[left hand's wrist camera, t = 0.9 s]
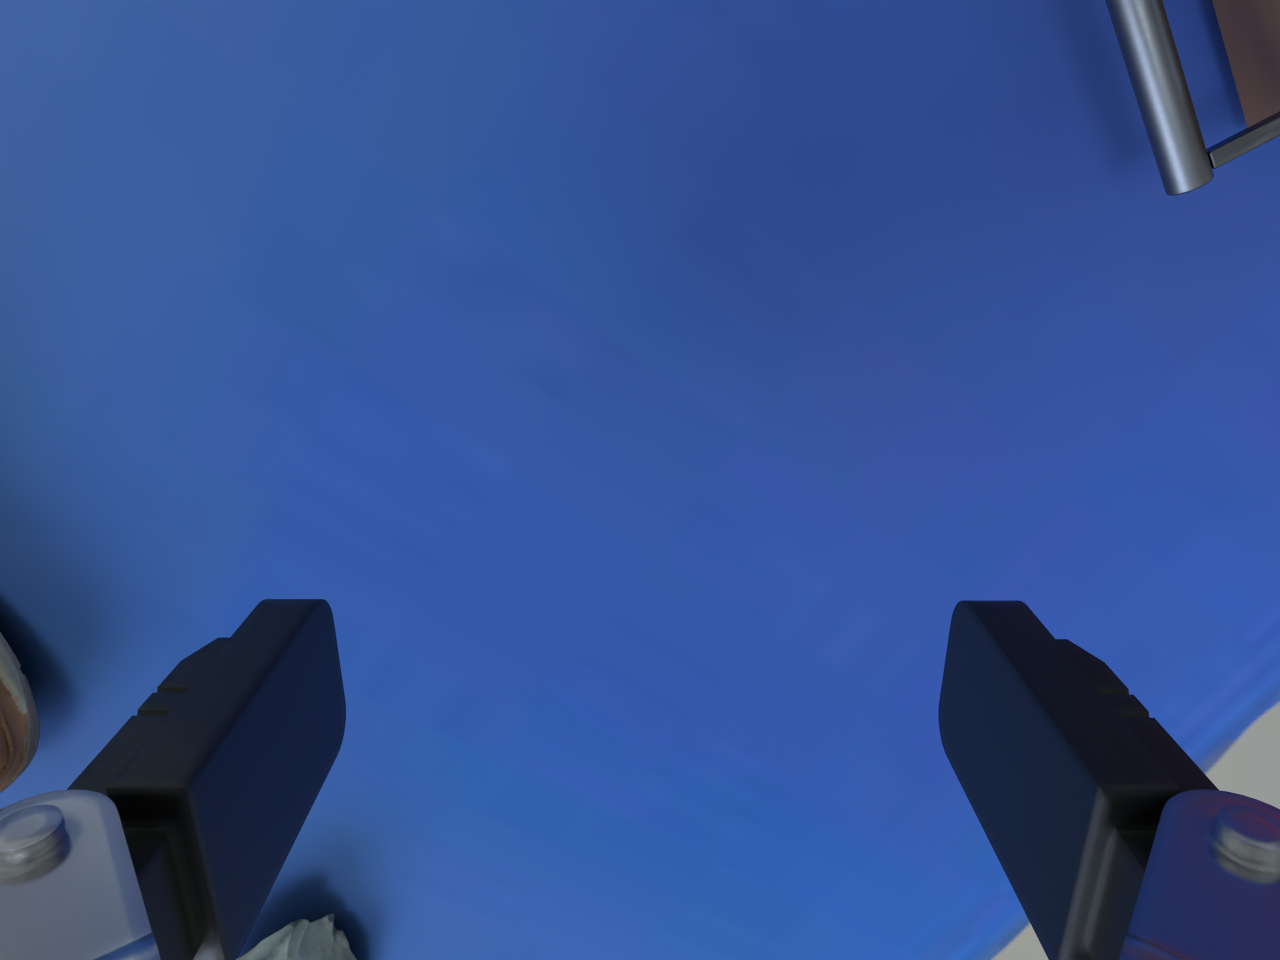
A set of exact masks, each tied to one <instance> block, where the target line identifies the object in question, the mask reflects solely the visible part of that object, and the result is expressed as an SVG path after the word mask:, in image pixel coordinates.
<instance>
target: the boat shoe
mask: <svg viewBox="0 0 1280 960" xmlns="http://www.w3.org/2000/svg"><path fill="white" fill-rule="evenodd" d="M20 667H21V665H20V663H19V661H18V659H17V657H16V656H15V654H14V652H13V651H12V649H11V648H10V646H9V645H8V643H7V641H6V640H5V638H4V637H3V635H2V633H1V632H0V793H1V792H3V791H4V790H5V789H6V788H7V787H8V786H10V785H11V784H12V783H13V782H14V781H15V780H16V779H17V778H18V777H19V776H20V775H21V773H22V772H23V771H24V770H25V769H26V768H27V767H28V765H29V764H30V762H31V760H32V759H33V757H34V755H35V752H36V750H37V747H38V742H39V737H40V724H39V717H38V712H37V708H36V704H35V701H34V698H33V694H32V691H31V689H30V686H29V683H28V680H27V678H26V676H25V675H24V674H23V673H22V672H21V670H20Z"/></svg>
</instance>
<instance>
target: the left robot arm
mask: <svg viewBox="0 0 1280 960" xmlns="http://www.w3.org/2000/svg"><path fill="white" fill-rule="evenodd" d="M1128 690H1129V689H1128V688H1127V687H1126V686H1125V685H1124V684H1123V683H1122V682H1121V680H1120V679H1119V678H1118V677H1117V676H1116V675H1115V674H1114V673H1113V671H1112V670H1111V669H1110V668H1109V667H1108V666H1107V665H1106V664H1105V663H1104V662H1103V661H1101V660H1100V659H1098V658H1096V657H1095V656H1093V655H1092V654H1090V653H1088V652H1087V651H1085V650H1083V649H1082V648H1080V647H1079V646H1077V645H1075V644H1074V643H1072V642H1070V641H1069V640H1067V639H1055V638H1054V637H1053V636H1052V635H1051V634H1050V632H1049V631H1048V630H1047V629H1046V628H1045V626H1044V625H1043V624H1042V623H1041V622H1040V620H1039V619H1038V618H1037V617H1036V616H1035V615H1034V613H1033V612H1032V611H1031V610H1030V609H1029V607H1028V606H1027V605H1026V604H1025V603H1023V602H1022V601H960V602H959V603H957V605H956V606H955V609H954V611H953V615H952V619H951V626H950V632H949V639H948V646H947V653H946V660H945V667H944V674H943V680H942V687H941V694H940V701H939V728H940V735H941V740H942V744H943V747H944V750H945V753H946V755H947V757H948V759H949V761H950V763H951V765H952V767H953V769H954V771H955V773H956V775H957V777H958V779H959V781H960V783H961V785H962V787H963V789H964V791H965V793H966V795H967V797H968V799H969V801H970V803H971V805H972V807H973V809H974V811H975V813H976V815H977V817H978V819H979V821H980V823H981V825H982V827H983V829H984V831H985V833H986V835H987V837H988V839H989V841H990V843H991V845H992V847H993V849H994V851H995V853H996V855H997V857H998V859H999V861H1000V863H1001V865H1002V867H1003V869H1004V871H1005V873H1006V875H1007V877H1008V879H1009V881H1010V883H1011V885H1012V887H1013V889H1014V891H1015V893H1016V895H1017V897H1018V899H1019V901H1020V903H1021V905H1022V907H1023V909H1024V911H1025V913H1026V915H1027V917H1028V919H1029V921H1030V923H1031V925H1032V927H1033V929H1034V931H1035V933H1036V935H1037V937H1038V939H1039V941H1040V943H1041V945H1042V947H1043V949H1044V951H1045V953H1046V955H1047V957H1048V959H1049V960H1280V809H1278V808H1276V807H1274V806H1272V805H1269V804H1267V803H1264V802H1261V801H1259V800H1256V799H1253V798H1250V797H1247V796H1244V795H1240V794H1235V793H1231V792H1225V791H1219V790H1218V789H1217V788H1216V786H1215V785H1214V784H1213V783H1212V782H1211V781H1210V780H1209V779H1208V777H1207V776H1206V775H1205V774H1204V773H1203V772H1202V771H1201V770H1200V769H1199V767H1198V766H1197V765H1196V764H1195V763H1194V762H1193V761H1192V760H1191V759H1190V757H1189V756H1188V755H1187V754H1186V753H1185V752H1184V751H1183V750H1182V748H1181V747H1180V746H1179V745H1178V744H1177V743H1176V742H1175V741H1174V740H1173V738H1172V737H1171V736H1170V735H1169V734H1168V733H1167V732H1166V731H1165V730H1164V728H1163V727H1162V726H1161V725H1160V724H1159V723H1158V722H1157V721H1156V719H1155V718H1150V717H1149V712H1148V711H1147V709H1146V708H1145V707H1144V706H1143V705H1142V704H1141V703H1140V702H1139V700H1138V699H1137V698H1136V697H1135V696H1134V695H1129V692H1128ZM345 720H346V704H345V696H344V689H343V682H342V675H341V668H340V661H339V654H338V647H337V640H336V633H335V626H334V619H333V614H332V611H331V608H330V605H329V604H328V602H327V601H326V600H323V599H265V600H263V601H261V602H260V603H259V604H258V605H257V606H256V607H255V609H254V610H253V611H252V612H251V613H250V615H249V616H248V617H247V618H246V619H245V621H244V622H243V623H242V624H241V625H240V627H239V628H238V629H237V630H236V631H235V633H234V634H233V635H232V636H231V637H230V638H217V639H216V640H214V641H212V642H211V643H209V644H207V645H206V646H204V647H203V648H201V649H199V650H198V651H196V652H195V653H193V654H191V655H190V656H188V657H186V658H185V659H183V660H182V661H181V662H180V663H179V664H178V665H177V666H176V667H175V668H174V670H173V671H172V672H171V673H170V674H169V675H168V676H167V677H166V679H165V680H164V681H163V682H162V683H161V684H160V685H159V686H158V691H157V693H152V694H151V695H150V697H149V698H148V699H147V700H146V701H145V702H144V703H143V704H142V706H141V707H140V708H139V709H138V714H137V716H132V717H131V718H130V719H129V720H128V721H127V722H126V724H125V725H124V726H123V727H122V728H121V729H120V730H119V731H118V733H117V734H116V735H115V736H114V737H113V738H112V739H111V740H110V742H109V743H108V744H107V745H106V746H105V747H104V748H103V749H102V751H101V752H100V753H99V754H98V755H97V756H96V757H95V758H94V760H93V761H92V762H91V763H90V764H89V765H88V766H87V767H86V769H85V770H84V771H83V772H82V773H81V774H80V775H79V776H78V778H77V779H76V780H75V781H74V782H73V783H72V784H71V785H70V787H69V788H68V789H67V790H62V791H54V792H49V793H45V794H40V795H36V796H33V797H30V798H27V799H24V800H21V801H19V802H16V803H13V804H11V805H8V806H6V807H4V808H2V809H0V960H236V959H237V957H238V955H239V953H240V951H241V949H242V947H243V945H244V943H245V941H246V939H247V937H248V935H249V933H250V931H251V928H252V926H253V924H254V922H255V920H256V918H257V916H258V914H259V912H260V910H261V908H262V906H263V904H264V902H265V900H266V898H267V896H268V894H269V892H270V890H271V888H272V886H273V884H274V882H275V880H276V878H277V876H278V874H279V872H280V870H281V868H282V866H283V864H284V862H285V860H286V858H287V856H288V854H289V852H290V850H291V848H292V846H293V844H294V842H295V840H296V838H297V836H298V834H299V832H300V830H301V828H302V826H303V824H304V822H305V820H306V817H307V815H308V813H309V811H310V809H311V807H312V805H313V803H314V801H315V799H316V797H317V795H318V793H319V791H320V789H321V787H322V785H323V783H324V781H325V779H326V777H327V775H328V773H329V771H330V769H331V767H332V765H333V763H334V761H335V759H336V757H337V755H338V753H339V750H340V747H341V744H342V740H343V736H344V730H345Z"/></svg>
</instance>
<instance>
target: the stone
mask: <svg viewBox="0 0 1280 960" xmlns="http://www.w3.org/2000/svg"><path fill="white" fill-rule="evenodd" d="M334 917H335V915H334V913H332V914H328V915H326V916H324V917H323V918H321V919H319V920H316V921H314V922H309V921H308V920H306V919H298V920H295V921H293V922H291V923H289V924H288V925H286V926H285V927H284V928H282V929H281V930H279V931H277V932H276V933H274V934H272V935H270V936H269V937H267V938H265V939H263V940H262V941H260V942H259V943H258V944H257V945H256V946H255V947H254V948H252V949H251V950H249V951H248V952H247V953H245V954H244V955H242V956H240V957H238V958H237V959H236V960H357V959H356V957H355V956H354V954H353V953H352V952H351V949H350V946H349V942H348V940H347V938H346V936H345V934H344V932H343V931H342V930H337V929H336V928H335V927H334Z"/></svg>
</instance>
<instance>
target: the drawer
mask: <svg viewBox="0 0 1280 960" xmlns="http://www.w3.org/2000/svg"><path fill="white" fill-rule="evenodd" d="M1105 1H1106V4H1107V7H1108V10H1109V14H1110V17H1111V20H1112V23H1113V26H1114V29H1115V33H1116V36H1117V39H1118V42H1119V45H1120V49H1121V52H1122V55H1123V58H1124V61H1125V64H1126V68H1127V71H1128V74H1129V77H1130V80H1131V83H1132V87H1133V90H1134V93H1135V96H1136V99H1137V102H1138V106H1139V109H1140V112H1141V115H1142V118H1143V121H1144V125H1145V128H1146V131H1147V134H1148V137H1149V141H1150V144H1151V147H1152V150H1153V153H1154V156H1155V160H1156V163H1157V166H1158V169H1159V172H1160V175H1161V179H1162V182H1163V185H1164V188H1165V191H1166V194H1167V195H1179V194H1183V193H1187V192H1190V191H1192V190H1195V189H1197V188H1199V187H1201V186H1203V185H1205V184H1207V183H1208V182H1210V181H1211V180H1212V179H1213V176H1214V175H1213V171H1212V169H1216V168H1217V167H1219V166H1221V165H1223V164H1225V163H1227V162H1229V161H1231V160H1233V159H1235V158H1237V157H1239V156H1241V155H1243V154H1245V153H1247V152H1249V151H1251V150H1253V149H1255V148H1257V147H1258V146H1260V145H1262V144H1264V143H1266V142H1268V141H1270V140H1272V139H1274V138H1276V137H1278V136H1280V0H1212V2H1213V6H1214V9H1215V13H1216V17H1217V20H1218V24H1219V27H1220V31H1221V35H1222V38H1223V42H1224V45H1225V49H1226V53H1227V56H1228V60H1229V63H1230V67H1231V71H1232V74H1233V78H1234V81H1235V85H1236V89H1237V92H1238V96H1239V100H1240V103H1241V107H1242V110H1243V114H1244V118H1245V121H1246V125H1247V128H1246V129H1244V130H1242V131H1240V132H1239V133H1237V134H1235V135H1233V136H1231V137H1229V138H1227V139H1225V140H1223V141H1221V142H1219V143H1217V144H1215V145H1213V146H1211V147H1210V148H1208V149H1206V148H1205V144H1204V141H1203V137H1202V134H1201V131H1200V127H1199V124H1198V120H1197V117H1196V114H1195V110H1194V107H1193V104H1192V100H1191V97H1190V93H1189V90H1188V87H1187V83H1186V80H1185V76H1184V73H1183V70H1182V66H1181V63H1180V59H1179V56H1178V53H1177V49H1176V46H1175V43H1174V39H1173V36H1172V32H1171V29H1170V26H1169V22H1168V19H1167V15H1166V12H1165V9H1164V5H1163V2H1162V0H1105Z"/></svg>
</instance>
